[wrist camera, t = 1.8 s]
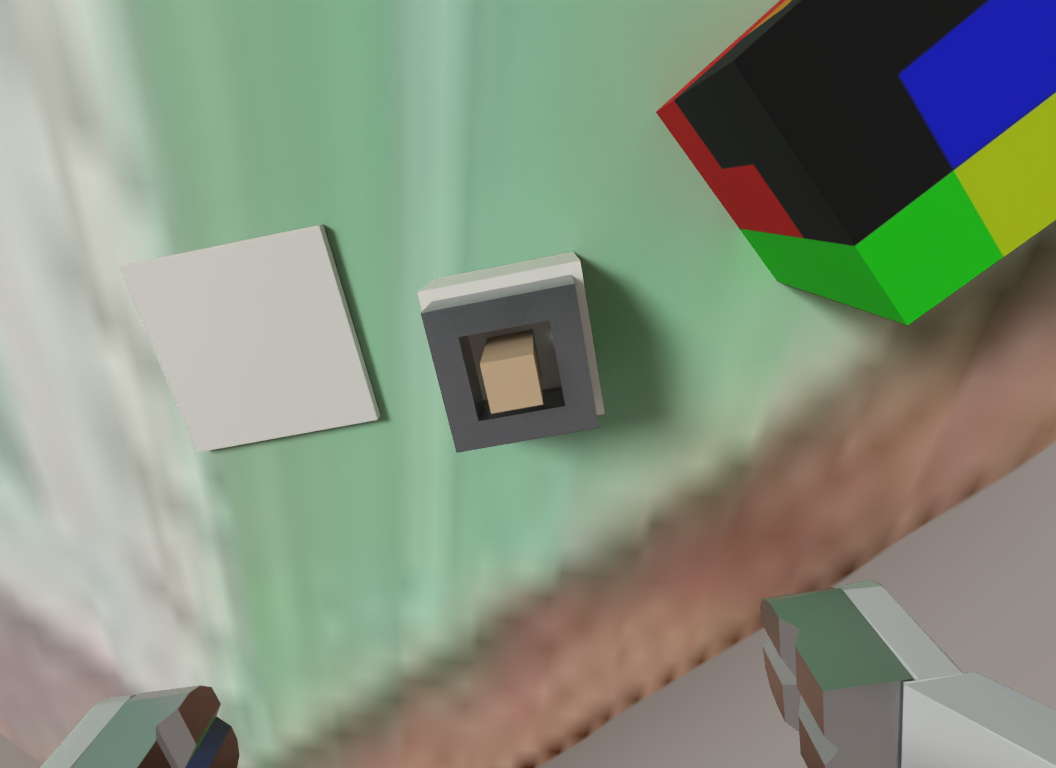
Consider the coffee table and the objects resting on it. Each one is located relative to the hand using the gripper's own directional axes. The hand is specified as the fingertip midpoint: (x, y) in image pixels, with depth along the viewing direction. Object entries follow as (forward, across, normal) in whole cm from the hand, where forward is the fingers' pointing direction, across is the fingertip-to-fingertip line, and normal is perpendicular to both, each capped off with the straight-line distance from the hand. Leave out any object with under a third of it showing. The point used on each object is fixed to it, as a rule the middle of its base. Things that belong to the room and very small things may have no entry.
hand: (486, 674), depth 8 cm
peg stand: (+21, 0, 0) cm, 21 cm away
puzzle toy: (+22, -15, -7) cm, 27 cm away
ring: (+17, 0, 0) cm, 17 cm away
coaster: (+21, +13, -2) cm, 25 cm away
